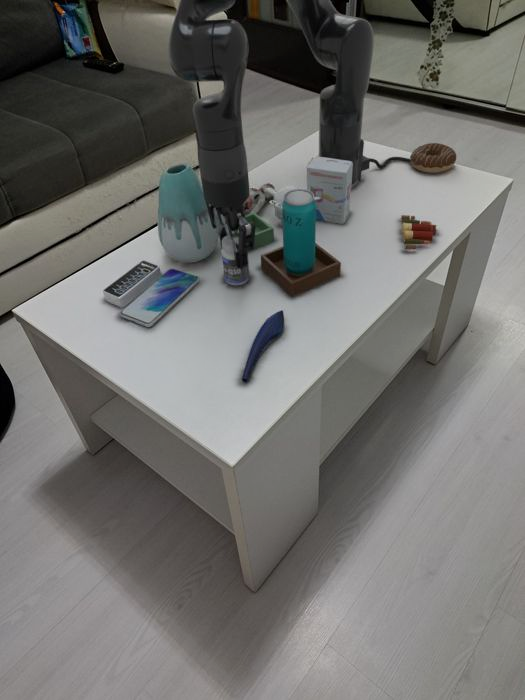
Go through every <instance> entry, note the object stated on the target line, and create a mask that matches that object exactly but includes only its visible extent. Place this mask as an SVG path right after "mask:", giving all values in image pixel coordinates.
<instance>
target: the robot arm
mask: <svg viewBox="0 0 525 700" xmlns="http://www.w3.org/2000/svg"><path fill="white" fill-rule="evenodd" d="M285 1H286V3H287V5H288V6H289V8H290V9H291V11H292V13H293V14H294V16H295V18H296V20H297V21H298V24H299V26H300V28H301V30H302V33H303V35H304V37H305V39H306V42H307V44H308V46H309V48H310V50H311V53H312V54H313V56H314V58H315V60H316V61H317V62H318V63H319V64H320V65H321V66H322V67H325V68H328V69H331V70H335V71H336V77H335V84H331V85H329V86H327V87H325V88H323V89H322V90H321V91H320V94H319V115H318V117H319V119H318V120H319V123H318V157H325V158H332V159H339V160H346V161H351V162H352V163H353V168H352V184H351V189H353V188H355V187H356V186H357V184H358V183H359V182H361V181H362V172H364V171H367V170H369V169H370V166H371V164H370V163H373V164H375V165H376V166H377V168H378V169H383V168H385V167H386V166H387V165H388V164H389V163H390V162H392V161H401V162H406V163H411V158H407V157H403V156H392V157H388V158H386V160H384V162H383V163H382V164H380V161H378V160H377V159H375V158H369V157H367V156H365V155H364V147H365V146H364V145H365V141H364V139H362V130H363V129H362V128H363V115H364V103H365V98H366V95H367V92H368V89H369V84H370V76H371V71H372V70H371V69H372V63H373V55H374V47H375V46H374V44H375V38H374V37H375V36H374V35H375V34H374V29H373V27H372V25H371V22H369V21H368V20H367V19H365V18H361V17H356V16H352V15H347V14H342V13H340V12H339V11H338V10H337V9H336V7H335V6H334V5H333V4H332V1H331V0H285ZM235 3H236V0H179V2H178V6H177V9H176V13H175V16H174V19H173V22H172V25H171V28H170V33H169V39H168V60H169V63H170V66H171V68H172V70H173V72H174V74H175V75H176V77H178V78H179V79H180V80H182V81H183V82H188V83H199V82H201V83H203V82H205V83H206V82H223V83H222V84H223V89H222V90H221V91H219V92H216V93H213V94H212V93H211V94H209V95H205V96H203V97H201V98H199V99H197V100H196V101H195V102H194V104H193V106H192V119H193V120H192V121H193V127H194V133H195V139H196V143H197V144H196V146H197V161H198V169H199V174H200V175H199V176H200V182H201V185H202V188H203V194H204V199H205V201H206V205H207V209H208V213H209V217H210V220H211V224H212V227H213V229H215V228H216V232H217V234H218V237H219V243H220V250H222V239H223V238H224V237H225V236H227V237H228V238H229V239H231V241H232V244H233V248H234V256H235V264H236V267H237V268H238V269H241V268H243V267H246V266H247V265H249V255H247V253H249V252H250V251H253V250H255V249H254V242H255V229H256V226H255V223H254V222H253V221H252V222H250V223H248V222H247V220H246V219H245V217H246V215H247V214H246V211H244V208H243V204H244V202H245V201H246V200H247V198H248V197H249V194H250V190H251V188H250V179H249V170H248V169H249V167H248V157H247V155H248V154H247V151H246V146H245V140H244V130H243V118H242V99H243V98H242V96H243V87H244V82H245V76H246V71H247V67H248V62H249V61H248V60H249V52H250V47H249V39H248V38H249V37H248V35H247V33H246V31H245V29H244V27H243V26H242V24H241V23H240V22H238V21H237V20H234V19H228V18H227V19H209V18H211V17H213V16H214V15H217V14H220V13H223V12H226V11H227V10H229V9H230V8H232V7H233V6H234V5H235ZM249 188H250V189H249ZM237 229H239V230H238V232H235V233H233V234H232V231H235V230H237ZM237 238H238V244H237Z"/></svg>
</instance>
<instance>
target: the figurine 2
mask: <svg viewBox="0 0 525 700" xmlns="http://www.w3.org/2000/svg"><path fill="white" fill-rule="evenodd" d="M294 189H300V188H299V187H297V186H294V185H293V186H292V185H291V186H286V187H283V188H281V189H279V190H276V189H275V190H274V189H272V188H266V191H267V192H268V193H270V194H271V195H272V196H274V198H273V199H270V200H269V203H270V204H271V205H273V208H274V209H273V215H274V217H276V219H278V220H279V221H280V222H279V223H280V224H279V225H280V227H283V219H282V203H283V201H284V198H283V197H284V194H285V193H286V192H288V191H290V190H294ZM319 199H320V197H314V200H319Z"/></svg>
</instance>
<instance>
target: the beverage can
mask: <svg viewBox="0 0 525 700" xmlns="http://www.w3.org/2000/svg"><path fill="white" fill-rule="evenodd" d="M283 198H284V201H283V203H282V219H283V226H282V246H283V249H284V265H285V267H286V269H287V271H288V272H289V273H290V274H291V275H293V276H305V275H307V274H309V273H310V272H311V270H312V268H313V266H314V264H315V243H316V234H317V233H316V229H317V228H316V227H317V226H316V225H317V220H316V202H315V200H314V194H313V193H312V192H311V191H309V190H307V188H299V189H294V190H290V191H288V192H286V193H285V194H284V197H283Z"/></svg>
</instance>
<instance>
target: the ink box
mask: <svg viewBox="0 0 525 700" xmlns="http://www.w3.org/2000/svg"><path fill="white" fill-rule="evenodd" d="M352 168H353V163H352V162H351V161H346V160H339V159H332V158H325V157H319V155H318V156H315V157H312V158H311V159H310V161H309V162H308V163H307V166H306V190H309V191H311V192H312V193H313V194H314V197H320V199H319V200H315V202H316V221H322V222H326V223H327V222H328V223H333V224H334V223H335V224H339V225H344V224H345V222H346V221H347V219H348V217H349V215H350V210H351V196H352V195H351V194H352V188H351V184H352Z"/></svg>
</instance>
